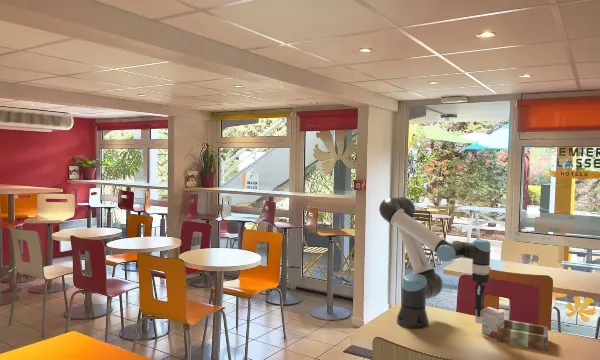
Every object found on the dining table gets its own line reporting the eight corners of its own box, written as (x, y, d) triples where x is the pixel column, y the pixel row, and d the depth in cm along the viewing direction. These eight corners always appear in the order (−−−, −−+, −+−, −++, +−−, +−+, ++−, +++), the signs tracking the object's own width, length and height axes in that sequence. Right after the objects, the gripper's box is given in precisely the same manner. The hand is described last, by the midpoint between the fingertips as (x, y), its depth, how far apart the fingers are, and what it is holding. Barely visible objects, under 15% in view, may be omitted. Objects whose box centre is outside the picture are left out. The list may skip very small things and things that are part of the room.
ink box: (503, 337, 213) (505, 311, 212) (497, 338, 210) (499, 313, 210) (487, 330, 220) (488, 306, 220) (480, 332, 217) (482, 307, 217)
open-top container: (496, 341, 207) (497, 328, 207) (499, 331, 221) (499, 318, 221) (547, 350, 198) (547, 337, 198) (546, 339, 212) (547, 326, 211)
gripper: (487, 276, 210) (485, 328, 210) (490, 271, 221) (488, 320, 222) (470, 274, 213) (468, 325, 214) (473, 269, 225) (472, 317, 225)
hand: (478, 322), depth 218 cm, fingers closed
